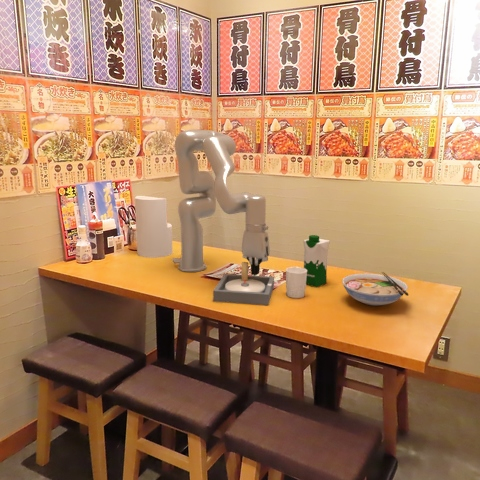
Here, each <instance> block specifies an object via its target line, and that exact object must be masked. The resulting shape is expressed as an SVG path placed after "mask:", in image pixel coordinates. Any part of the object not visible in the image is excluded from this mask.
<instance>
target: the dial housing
mask: <svg viewBox="0 0 480 480" xmlns="http://www.w3.org/2000/svg"><path fill="white" fill-rule="evenodd" d="M236 279H241V274H232V273H224V274H223V276H222V277H221V278H220V280H219V282H218V283H217V284H216V286H215V287H214V289H213V293H212V294H213V300H212V301H213V302H217V303H218V302H220V303H232V304H247V305H259V306H261V305H262V306H269V305H270V301H271V297H272V295H273V290H274V287H275V276H267V275H266V276H264V275H251V274H248V279H253V280H257V281H260V282H262V283H264V284H265V292H264V293H259V292H244V291H230V290H225V284H226V283H227V282H229V281H232V280H236Z"/></svg>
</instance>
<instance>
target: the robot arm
mask: <svg viewBox="0 0 480 480" xmlns="http://www.w3.org/2000/svg"><path fill="white" fill-rule="evenodd" d="M236 150H237V145H236V141H235V140H234V139H233V137H232V136H230V135H228V134H225V133H222V132H219V131H215V130H211V129H210V130H209V129H187V130H183V131H180V132H179V133H178V134H177V136H176V138H175V140H174V151H175V155H176V159H177V168H178V180H179V189H180V191H181V193H183V194H184V195H197V194H198V196H192V197H185V198H183V199H182V200H181V201H179V202H178V205H177V212H178V217H179V223H180V246H181V247H180V249H181V251H180V252H181V257H172V262H173V263H174V264H178V267H177V268H178V269H177V270H179V271H182V272H184V273H185V272H187V273H197V272H202V271H205V270H206V269H207V267H208V266H207V263H205V262H204V231H203V226H202V224H201V222H200V221H199V219H203V218H209V217H211V216H214V214H215V212H216V209H217V203H218V205H219V207H220V209H221V211H223V212H224V213H226V215H227V214H228V215H236V214H240V213H241V214H242V213H245V222H244V223H245V230H244V231H243V235H242V242H241V254H242V258H243V259H245V260H247V261H248V264H249V265H250V272H251V274H250V275H252V276H258V275H259V274H260V267H261V266H260V264H261V263H263V262H267V261H269V256H270V254H271V253H270V251H271V250H270V239H269V233H268V230H269V226H267V224H266V207H267V205H266V202H267V201H266V197H265V196H264V195H262V194H261V195H260V194H254V193H251V192H246V191H245V192H238V193H231V191H230V189H229V188H228V185H227V178H228V177H230V176H231V175H232V174H233V173H234V172H235V169H236V166H235V162H233V159H232V157H231V156H233V155H234V154H235V153H236ZM197 151H198V152H201V151H203V153H204V154H205V157H206V159H207V161H208V163H209V165H210V167H211V169H212V171H213V174H214V175H215V176H214V177H215V178H214V177H213V175H212V174H211V173H210V172H209V171H205V170H199V169H200V168H199V160H198V159H197V156H196V154H195V153H194V152H197Z"/></svg>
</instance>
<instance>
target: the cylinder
mask: <svg viewBox="0 0 480 480" xmlns="http://www.w3.org/2000/svg"><path fill="white" fill-rule="evenodd" d="M167 201H168V200H167V198H165V197H156V196H149V195H148V196H147V195H136V196H134V211H135V228H136V229H135V230H136V232H135V234H136V251H137V255H138V256H140V257H143V258H149V259H150V258H151V259H152V258H154V259H155V258H156V259H157V258H163V257H168V256H170V255H172V254H173V225H172V224H171V223H170V222H168V210H167V209H168V206H167V205H168V204H167Z"/></svg>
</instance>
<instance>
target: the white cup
mask: <svg viewBox="0 0 480 480" xmlns="http://www.w3.org/2000/svg"><path fill="white" fill-rule="evenodd" d="M306 279H307V269H305V268H304V267H300V266H290V267H286V268H285V284H286V285H285V287H286V296H288V297H289V298H291V299H301V298H304V297H305V295H306V294H305V293H306V289H307V284H306Z"/></svg>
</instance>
